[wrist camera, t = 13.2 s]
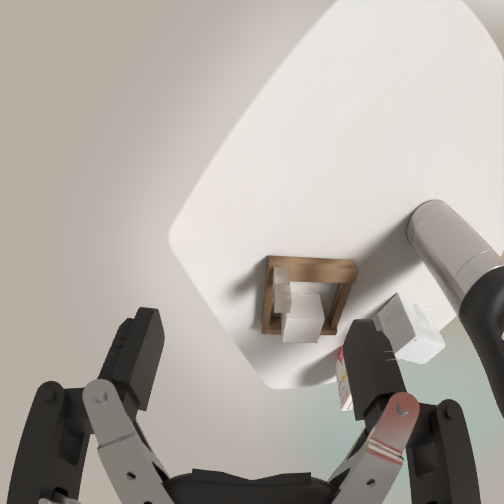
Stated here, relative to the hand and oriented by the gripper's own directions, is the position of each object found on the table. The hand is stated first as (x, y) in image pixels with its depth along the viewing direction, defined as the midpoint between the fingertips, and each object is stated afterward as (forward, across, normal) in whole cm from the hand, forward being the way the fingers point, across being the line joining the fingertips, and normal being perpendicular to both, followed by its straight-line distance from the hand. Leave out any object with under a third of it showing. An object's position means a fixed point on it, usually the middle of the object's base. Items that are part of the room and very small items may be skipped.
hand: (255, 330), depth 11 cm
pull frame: (+28, -9, +23) cm, 38 cm away
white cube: (+28, -9, +26) cm, 39 cm away
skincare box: (+28, -30, +27) cm, 49 cm away
